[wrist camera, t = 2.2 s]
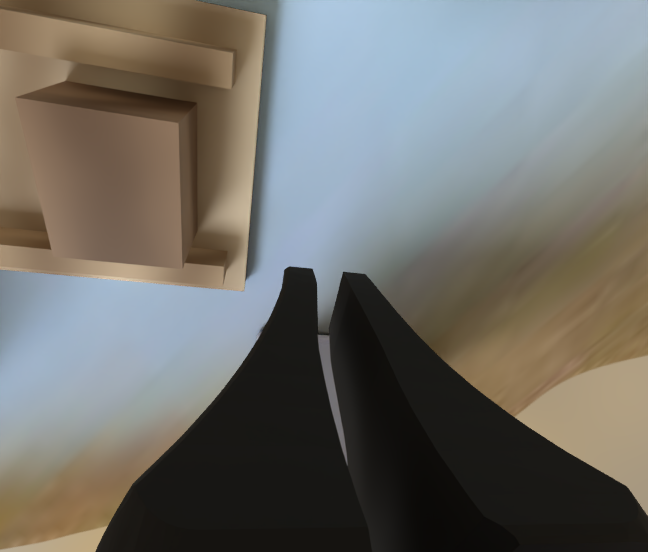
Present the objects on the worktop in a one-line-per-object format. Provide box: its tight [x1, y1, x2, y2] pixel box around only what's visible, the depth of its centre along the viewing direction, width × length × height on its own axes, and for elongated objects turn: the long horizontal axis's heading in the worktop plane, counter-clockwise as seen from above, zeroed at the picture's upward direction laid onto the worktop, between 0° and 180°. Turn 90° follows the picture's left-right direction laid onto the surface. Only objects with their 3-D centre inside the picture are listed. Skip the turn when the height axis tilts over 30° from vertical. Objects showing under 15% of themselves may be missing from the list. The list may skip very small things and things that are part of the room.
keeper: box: [15, 81, 198, 269], centre depth 16 cm, size 5×6×4 cm
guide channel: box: [0, 0, 267, 291], centre depth 16 cm, size 18×13×4 cm
